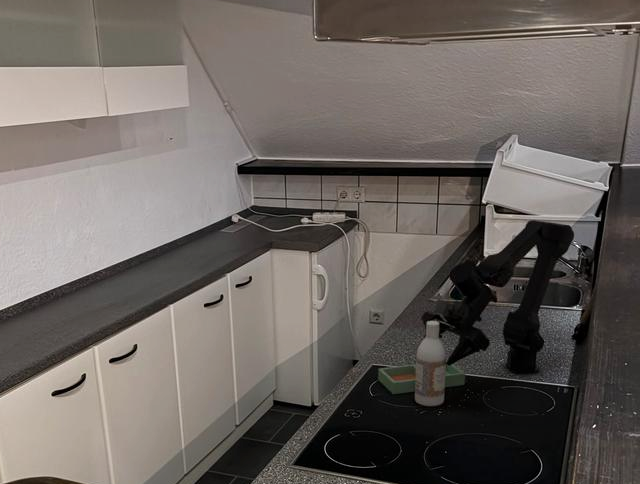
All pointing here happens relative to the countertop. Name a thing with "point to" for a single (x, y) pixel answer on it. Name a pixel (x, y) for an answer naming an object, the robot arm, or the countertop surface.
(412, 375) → the tray
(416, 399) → the bath foam
